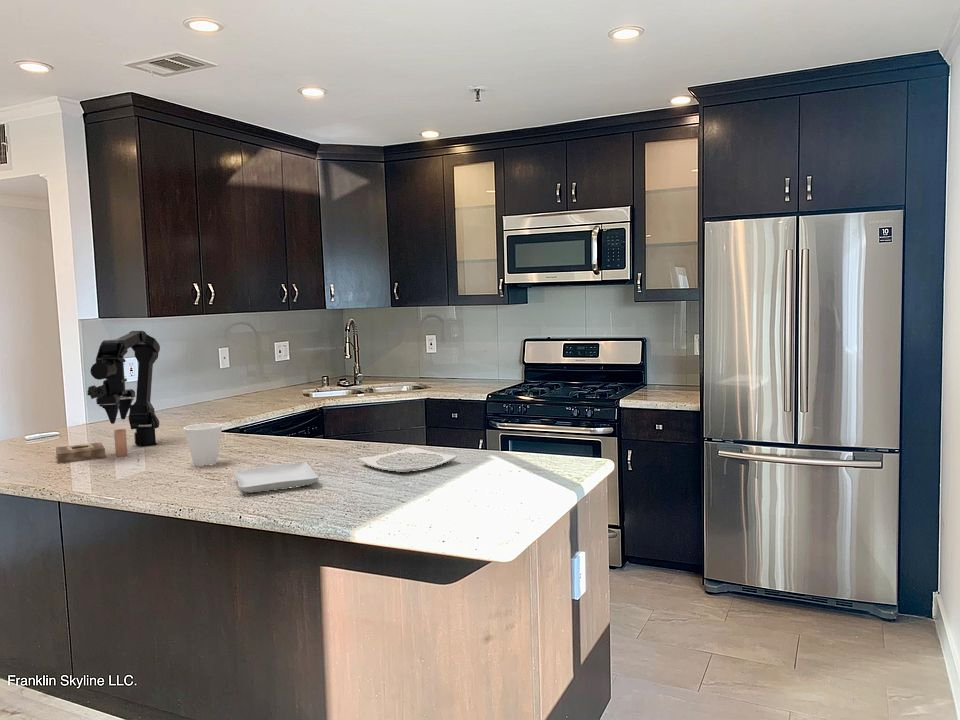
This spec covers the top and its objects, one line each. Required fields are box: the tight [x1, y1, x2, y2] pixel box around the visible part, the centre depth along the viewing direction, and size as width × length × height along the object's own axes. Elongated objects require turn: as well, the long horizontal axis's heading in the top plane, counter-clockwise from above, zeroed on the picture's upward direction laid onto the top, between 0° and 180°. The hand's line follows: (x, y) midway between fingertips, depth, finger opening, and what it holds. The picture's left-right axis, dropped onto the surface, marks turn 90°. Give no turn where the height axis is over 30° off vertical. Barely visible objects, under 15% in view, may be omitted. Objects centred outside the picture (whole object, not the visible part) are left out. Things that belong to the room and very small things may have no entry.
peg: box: [113, 428, 128, 458], centre depth 246 cm, size 4×4×9 cm
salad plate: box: [233, 461, 319, 494], centre depth 202 cm, size 21×21×3 cm
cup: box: [183, 422, 223, 467], centre depth 229 cm, size 12×12×12 cm
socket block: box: [55, 441, 106, 464], centre depth 246 cm, size 14×14×4 cm
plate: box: [358, 446, 458, 473], centre depth 222 cm, size 24×24×3 cm
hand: (118, 421), depth 246 cm, fingers open, 9 cm apart
